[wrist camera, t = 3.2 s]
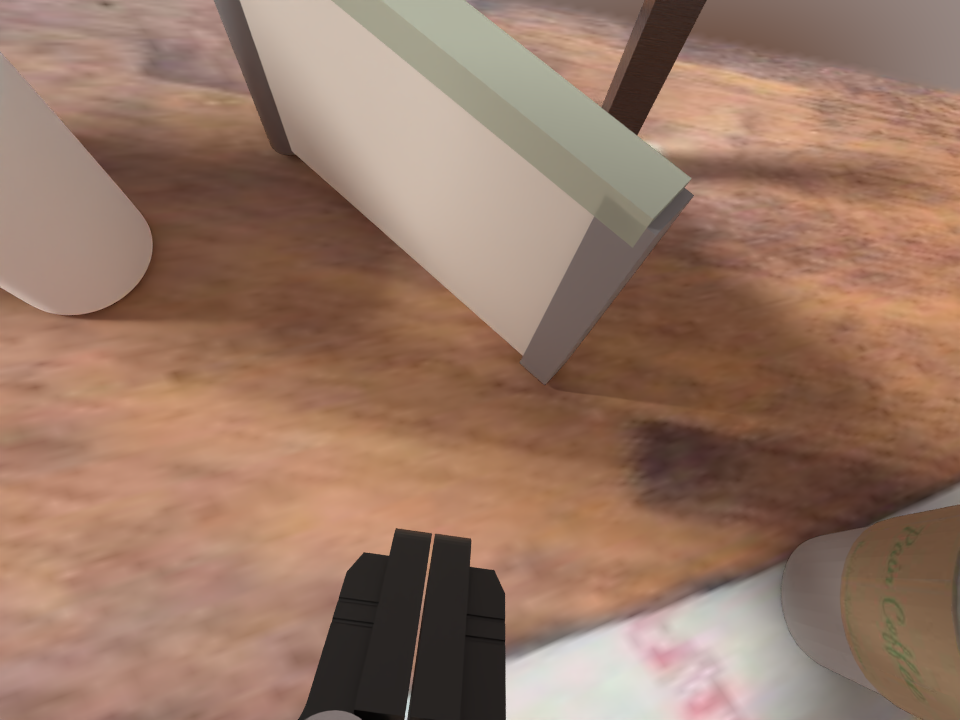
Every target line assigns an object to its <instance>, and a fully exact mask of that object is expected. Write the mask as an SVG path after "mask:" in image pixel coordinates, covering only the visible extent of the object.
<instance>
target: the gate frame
mask: <svg viewBox="0 0 960 720" xmlns="http://www.w3.org/2000/svg"><path fill="white" fill-rule="evenodd" d="M705 2H706V0H644V3H643V6H642V8H641V10H640V13H639V15H638V18H637V20H636V23H635V25H634V28H633V30H632V33H631V35H630V38H629V40H628V43H627V45H626V48H625V50H624V53H623V55H622V58H621V60H620V63H619V65H618V68H617V70H616V73H615V75H614V78H613V80H612V83H611V85H610V88H609V90H608V93H607V95H606V98H605V100H604V103H603V105H602V109H604V110H605V111H606V112H608V113H609V114H610V115H611V116H613V117H614V118H615V119H616V120H618V121H619V122H620V123H622V124H623V125H624V126H625V127H627V128H628V129H629V130H630V131H632V132H633V133H634V134H636V135H638V133H639V131H640V129H641V127H642V125H643V123H644V121H645V119H646V117H647V115H648V113H649V111H650V109H651V107H652V106H653V104H654V102H655V100H656V98H657V96H658V94H659V92H660V90H661V88H662V86H663V84H664V82H665V80H666V78H667V76H668V74H669V72H670V71H671V69H672V67H673V65H674V63H675V61H676V59H677V57H678V55H679V53H680V51H681V49H682V47H683V45H684V43H685V41H686V39H687V37H688V36H689V34H690V32H691V30H692V28H693V26H694V24H695V22H696V20H697V18H698V16H699V14H700V12H701V10H702V8H703V6H704V4H705Z"/></svg>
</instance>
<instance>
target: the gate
mask: <svg viewBox="0 0 960 720" xmlns="http://www.w3.org/2000/svg"><path fill="white" fill-rule="evenodd" d="M214 2H215V4H216V7H217V9H218V12H219V14H220V17H221V20H222V22H223V25H224V27H225V30H226V32H227V35H228V37H229V40H230V42H231V45H232V48H233V50H234V53H235V55H236V58H237V60H238V63H239V65H240V68H241V70H242V73H243V76H244V78H245V81H246V83H247V86H248V88H249V91H250V93H251V96H252V98H253V101H254V104H255V106H256V109H257V111H258V114H259V116H260V119H261V121H262V124H263V126H264V129H265V132H266V134H267V137H268V139H269V142H270V144H271V146H272V148H273V149H274V150H275V151H276V152H278V153H280V154H283V155H294V154H296V155H297V156H298V157H299V158H300V159H301V160H302V161H303V162H305V163H306V164H307V165H308V166H309V167H310V168H311V169H313V170H314V171H315V172H316V173H317V174H318V175H319V176H320V177H322V178H323V179H324V180H325V181H326V182H327V183H328V184H329V185H331V186H332V187H333V188H334V189H335V190H336V191H337V192H338V193H340V194H341V195H342V196H343V197H344V198H345V199H346V200H348V201H349V202H350V203H351V204H352V205H353V206H354V207H355V208H357V209H358V210H359V211H360V212H361V213H362V214H363V215H364V216H366V217H367V218H368V219H369V220H370V221H371V222H372V223H373V224H375V225H376V226H377V227H378V228H379V229H380V230H381V231H382V232H384V233H385V234H386V235H387V236H388V237H389V238H390V239H392V240H393V241H394V242H395V243H396V244H397V245H398V246H399V247H401V248H402V249H403V250H404V251H405V252H406V253H407V254H408V255H410V256H411V257H412V258H413V259H414V260H415V261H416V262H417V263H419V264H420V265H421V266H422V267H423V268H424V269H425V270H426V271H428V272H429V273H430V274H431V275H432V276H433V277H434V278H436V279H437V280H438V281H439V282H440V283H441V284H442V285H443V286H445V287H446V288H447V289H448V290H449V291H450V292H451V293H452V294H454V295H455V296H456V297H457V298H458V299H459V300H460V301H461V302H463V303H464V304H465V305H466V306H467V307H468V308H469V309H471V310H472V311H473V312H474V313H475V314H476V315H477V316H478V317H480V318H481V319H482V320H483V321H484V322H485V323H486V324H487V325H489V326H490V327H491V328H492V329H493V330H494V331H495V332H496V333H498V334H499V335H500V336H501V337H502V338H503V339H504V340H505V341H507V342H508V343H509V344H510V345H511V346H512V347H513V348H515V349H516V350H517V351H518V352H519V353H520V354H521V355H522V356H523V357H522V359H521V361H520V364H521V365H522V366H524V367H525V368H526V369H527V370H528V371H529V372H530V373H531V374H533V375H534V376H535V377H536V378H537V379H538V380H539V381H540V382H541V383H543V384H544V385H546V384H547V383H548V381H549V380H550V379H551V378H552V377H553V376H554V375H555V374H556V373H557V372H558V371H559V369H560V368H561V367H562V366H563V365H564V364H565V363H566V362H567V360H568V359H569V358H570V357H571V355H572V354H573V353H574V351H575V350H576V349H577V347H578V346H579V345H580V344H581V342H582V341H583V340H584V338H585V337H586V336H587V334H588V333H589V332H590V330H591V329H592V328H593V327H594V325H595V324H596V323H597V321H598V320H599V319H600V317H601V316H602V315H603V314H604V312H605V311H606V310H607V308H608V307H609V306H610V304H611V303H612V302H613V300H614V299H615V298H616V297H617V295H618V294H619V293H620V291H621V290H622V289H623V287H624V286H625V285H626V283H627V282H628V281H629V280H630V278H631V277H632V276H633V274H634V273H635V272H636V270H637V269H638V268H639V267H640V265H641V264H642V263H643V261H644V260H645V259H646V257H647V256H648V255H649V253H650V252H651V251H652V250H653V248H654V247H655V246H656V244H657V243H658V242H659V240H660V239H661V238H662V237H663V235H664V234H665V233H666V231H667V230H668V229H669V227H670V226H671V225H672V223H673V222H674V221H675V220H676V218H677V217H678V216H679V214H680V213H681V212H682V210H683V209H684V208H685V206H686V205H687V204H688V203H689V201H690V200H691V199H692V197H693V196H694V195H693V194H692V193H690V192H689V191H688V190H687V189H685V187H686V185H687V184H688V182H689V181H690V180H691V178H690V177H689V176H688V175H687V174H685V173H684V172H683V171H681V170H680V169H679V168H678V167H676V166H675V165H674V164H673V163H671V162H670V161H669V160H667V159H666V158H665V157H664V156H662V155H661V154H660V153H658V152H657V151H656V150H655V149H653V148H652V147H651V146H650V145H648V144H647V143H646V142H644V141H643V140H642V139H641V138H639V137H638V136H637V135H636V134H634V133H633V132H632V131H630V130H629V129H628V128H627V127H625V126H624V125H623V124H622V123H620V122H619V121H618V120H616V119H615V118H614V117H613V116H611V115H610V114H609V113H608V112H606V111H605V110H604V109H602V108H601V107H600V106H599V105H597V104H596V103H595V102H593V101H592V100H591V99H590V98H588V97H587V96H586V95H585V94H583V93H582V92H581V91H579V90H578V89H577V88H576V87H574V86H573V85H572V84H571V83H569V82H568V81H567V80H565V79H564V78H563V77H562V76H560V75H559V74H558V73H557V72H555V71H554V70H553V69H551V68H550V67H549V66H548V65H546V64H545V63H544V62H543V61H541V60H540V59H539V58H537V57H536V56H535V55H534V54H532V53H531V52H530V51H528V50H527V49H526V48H525V47H523V46H522V45H521V44H520V43H518V42H517V41H516V40H514V39H513V38H512V37H511V36H509V35H508V34H507V33H506V32H504V31H503V30H502V29H500V28H499V27H498V26H497V25H495V24H494V23H493V22H492V21H490V20H489V19H488V18H486V17H485V16H484V15H483V14H481V13H480V12H479V11H478V10H476V9H475V8H474V7H472V6H471V5H470V4H469V3H467V2H466V1H465V0H214Z"/></svg>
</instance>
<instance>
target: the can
mask: <svg viewBox="0 0 960 720" xmlns="http://www.w3.org/2000/svg"><path fill="white" fill-rule="evenodd" d="M152 250H153V241H152V235H151V231H150V228H149V226H148V224H147V222H146V220H145V219H144V217H143V216H142V214H141V213H140V212H139V210H138V209H137V208H136V207H135V206H134V204H133V203H132V202H131V201H130V200H129V198H128V197H127V196H126V195H125V194H124V193H123V191H122V190H121V189H120V188H119V187H118V186H117V184H116V183H115V182H114V181H113V180H112V179H111V177H110V176H109V175H108V174H107V173H106V172H105V170H104V169H103V168H102V167H101V166H100V165H99V164H98V162H97V161H96V160H95V159H94V158H93V157H92V155H91V154H90V153H89V152H88V151H87V150H86V148H85V147H84V146H83V145H82V144H81V143H80V142H79V140H78V139H77V138H76V137H75V136H74V135H73V134H72V132H71V131H70V130H69V129H68V128H67V127H66V125H65V124H64V123H63V122H62V121H61V120H60V119H59V117H58V116H57V115H56V114H55V113H54V112H53V110H52V109H51V108H50V107H49V106H48V105H47V104H46V102H45V101H44V100H43V99H42V98H41V97H40V96H39V94H38V93H37V92H36V91H35V90H34V89H33V88H32V86H31V85H30V84H29V83H28V82H27V81H26V80H25V78H24V77H23V76H22V75H21V74H20V73H19V72H18V71H17V69H16V68H15V67H14V66H13V65H12V64H11V63H10V62H9V61H8V59H7V58H6V57H5V56H4V55H3V54H2V53H1V52H0V288H2V289H4V290H6V291H7V292H9V293H11V294H12V295H14V296H16V297H17V298H19V299H21V300H23V301H24V302H26V303H28V304H30V305H32V306H34V307H36V308H38V309H40V310H43V311H45V312H49V313H53V314H59V315H80V314H86V313H91V312H95V311H98V310H101V309H103V308H106V307H108V306H110V305H112V304H114V303H115V302H117V301H119V300H120V299H122V298H123V297H124V296H126V295H127V294H128V293H129V292H130V291H131V290H132V289H133V288H134V287H135V286H136V285H137V284H138V283H139V282H140V280H141V279H142V277H143V276H144V274H145V272H146V270H147V268H148V266H149V263H150V260H151V256H152Z"/></svg>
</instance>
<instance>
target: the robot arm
mask: <svg viewBox="0 0 960 720" xmlns="http://www.w3.org/2000/svg"><path fill="white" fill-rule="evenodd" d="M431 536H432V533H425V532H418V531H411V530H404V529H397V528H396V530H395V533H394V538H393V542H392V546H391V551H390V555H389V556H386V555H379V554H372V553H365V552H364V553H363V554H362V555H361V556H360V558H359V559H358V560H357V561H356V562H355V563H354V564H353V565H352V567H351V568H350V569H349V570H348V571H347V573H346V576H345V579H344V583H343V586H342V589H341V592H340V596H339V600H338V602H337V605H336V609H335V612H334V615H333V620H332V623H331V625H330V628H329V632H328V635H327V638H326V641H325V645H324V648H323V651H322V655H321V658H320V661H319V664H318V668H317V671H316V674H315V677H314V681H313V684H312V687H311V691H310V694H309V697H308V700H307V703H306V706H305V708H304V710H303V712H302V714H301V716H300V717H299V719H298V720H404V718H405V711H406V704H407V697H408V691H409V684H410V677H411V671H412V664H413V657H414V651H415V644H416V637H417V630H418V624H419V617H420V610H421V604H422V597H423V590H424V583H425V577H426V570H427V563H428V557H429V550H430V543H431ZM470 554H471V539H469V538H462V537H455V536H448V535H441V534H435V538H434V544H433V550H432V557H431V563H430V569H429V576H428V582H427V588H426V595H425V601H424V608H423V615H422V621H421V628H420V635H419V642H418V649H417V656H416V663H415V670H414V677H413V684H412V691H411V698H410V705H409V711H408V718H407V720H506V687H505V593H504V590H503V588H502V586H501V584H500V582H499V580H498V577H497V575H496V573H495V571H494V570H489V569H481V568H474V567H470Z"/></svg>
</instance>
